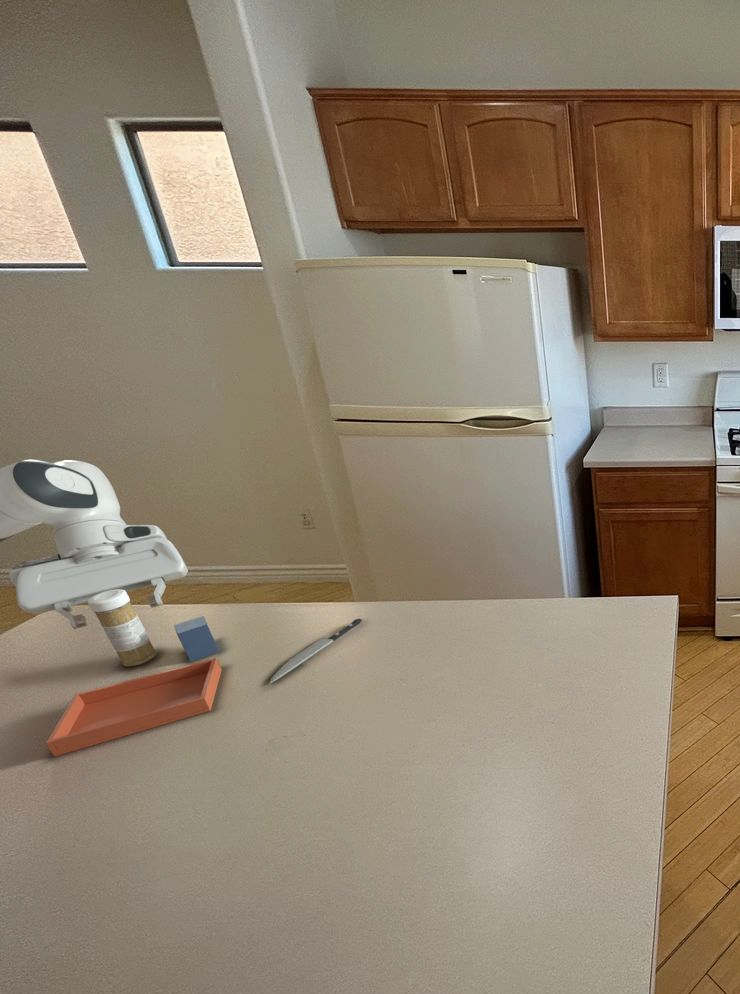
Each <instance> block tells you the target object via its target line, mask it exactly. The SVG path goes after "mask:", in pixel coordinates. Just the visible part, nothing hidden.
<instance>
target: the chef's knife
mask: <svg viewBox="0 0 740 994" xmlns="http://www.w3.org/2000/svg"><path fill="white" fill-rule="evenodd" d="M362 621H363V619H362V618H356V619H353V621H352V622H351V623H350V624H348V625H347V626H345V627H344V628H342V629H341V630H339V631H338V632H336V633H334V634H333V635H331V636H330V637H328V638H320V639H317V640H316V641H315V642H313V643H312V644H311V645H309V646H308V647H306V648H305V649H303V650H302V651H300V652H299V653H297V654H296V655H294V657H292V658H290V659H289V660H288V661H287V662H285V663H284V664H283V665H281V667H280V668H279V669H278V670H277V671H276V672H275V673H274V675H272V677H271V678H270V681H269V683H268V685H270V684H272V683H273V682H275V681H277V680H279V679H280V678H281V677H283V676H285V675H286V674H288V673H289V672H290V671H293V669H295V668H297V667H298V666H300V665H301V664H302V663H303V662H305V661H307V660H308V659H310V658H311V657H312V656H314V655H316V654H317V653H318V652H319V651H321V650H323V649H324V648H325V647H328V645H330V644H331V643H333V642H335V641H336V640H337V639H339V638H340V637H342V636H343V635H345V634H346V633H348V632H349V631H350V630H352V629H353V628H355V627H357V626H358V625H360V624H361V623H362Z"/></svg>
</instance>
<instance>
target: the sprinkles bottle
mask: <svg viewBox="0 0 740 994" xmlns="http://www.w3.org/2000/svg"><path fill="white" fill-rule="evenodd" d="M87 604H88V606H89V608H90V610H91V611H92V612H94V614H95V615H96V618H97V620H98V621H99V623H100V625H101V626H102V629H103V631H104V633H105V635H106V637H107V639H108V641H109V642H110V645H111V647H112V649H113V650H114V651H115V652H116V654H117V655H118V657H119V660H120V661H121V665H123V667H135V666H140V665H143V664H145V663H148V662H149V661H151V660H153V659H154V658H155V657H156V656H157V650H156V649H155V648H154V646H153V643H152V641H151V640H150V637H149V635H148V633H147V631H146V629H145V627H144V625H143V623H142V621H141V619H140V617H139V616H138V614H137V612H136V611H135V609H134V607H133V605H132V603H131V598H130V597H129V594H128V592H126V591H125V590H122V589H115V590H109V591H105V592H102V593H99V594H97V595H94V596H93V597H91V598H90V599H89V600H88V602H87Z"/></svg>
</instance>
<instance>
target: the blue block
mask: <svg viewBox="0 0 740 994" xmlns="http://www.w3.org/2000/svg"><path fill="white" fill-rule="evenodd" d="M173 626H174V629H175V630H174V631H175V633H176V635H177V637H178V639H179V642H180V643H181V645H182V647H183V650H184V652H185V654H186V656H187V658H188V660H189V662H190V663H191V662H194V661H197V660H199V659H203V658H205V657H208V656H211V655H214V654H217V653H219V652H220V650H219V647H218V645H217V642H216V640H215V639H214V636H213V634H212V631H211V629H210V627H209V625H208V623H207V620H206V618H205V616H204V615H201V616H197V617H195V618H192V619H188V620H185V621H182V622H179V623H176V624H174V625H173Z"/></svg>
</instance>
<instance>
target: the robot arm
mask: <svg viewBox="0 0 740 994" xmlns="http://www.w3.org/2000/svg"><path fill="white" fill-rule="evenodd" d="M41 524H44V525H45V524H46V525H50V526H52V527H53V532H52V535H53V539H54V542H55V546H56V549H57V552H58V554H53V555H49V556H45V557H41V558H38V559H33V560H32V559H30V560H25V561H22V562H20V563H19V565H16V566H15V567H13V568H12V569H11V570H10V571H9V574H8V575H9V580H10V583H11V584H12V585H13V586H14V587H15V592H16V593H15V594H16V601H17V605H18V607H19V608H20V609H21V610H23V611H24V612H26V613H29V614H31V615H41V614H45V613H49V612H52V611H56V612H57V613H58V614H60V615H61V616H63V617H65V618H67V619H68V620H69V624H70V626H71V628H72V629H74V630H77V629H81V628H84V627H87V626H88V622H87V619H86V616H85V615H83V614H81V613H80V614H72V613H71V612H73V607H72V606H76V605H80V604H83V603H88V600H89V599H90V598H91V597H93V596H94V595H97V594H99V593H102V592H105V591H109V590H115V589H122V590H125V591H126V593H128V592H131V591H135V590H138V589H143V588H147V587H151V586H152V587H154V591H153V593H152V595H148V596H146V598H147V601H148V605H149V606H150V607H151V609H154V608H157V607H161V606H164V602H163V600H162V597H163V594H164V592H165V591H166V588H167V585H166V582H170V581H174V580H178V579H181V578H184V577H186V576H187V575H188V572H189V569H188V567H187V564H186V562H185V560H184V559H183V556H182V555H181V554H180V552H179V550H178V549H177V548H176V546H175V545H174V544H173V543H172V542H171V541H170V540H168V538H167V536H166V534H165V532H164V531H163V530H162V529H161V528H160V527H159V526H157V525H154V524H127V523H126V522H125V521H124V519H123V518H122V517H121V505H120V502H119V499H118V497H117V493H116V492H115V489H114V487H113V485H112V484H111V482H110V480H109V478H108V477H107V475H105V474H104V472H103V471H102V470H101V468H99V467H98V466H96V465H94V464H92V463H88V462H86V461H80V460H58V461H54V462H49V461H44V460H38V459H24V460H21V461H18V462H13V463H11V464H8V465H6V466H2V467H0V543H2V542H4V541H6V540H8V539H11V538H12V537H13V536H15V535H17V534H19V533H21V532H23V531H26V530H29V529H31V528H34V527H36V526H39V525H41Z"/></svg>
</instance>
